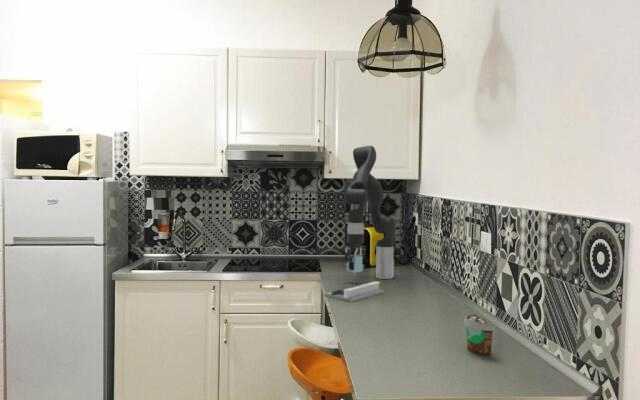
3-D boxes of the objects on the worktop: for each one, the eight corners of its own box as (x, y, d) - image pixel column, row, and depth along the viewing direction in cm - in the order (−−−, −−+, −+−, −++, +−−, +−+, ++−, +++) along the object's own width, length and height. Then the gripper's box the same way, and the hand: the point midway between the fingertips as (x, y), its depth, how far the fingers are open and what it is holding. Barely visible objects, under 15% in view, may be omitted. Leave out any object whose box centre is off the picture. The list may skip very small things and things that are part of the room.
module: (354, 269, 218) (354, 254, 218) (362, 271, 215) (362, 255, 215) (347, 271, 215) (348, 255, 214) (355, 272, 212) (355, 256, 211)
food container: (457, 343, 150) (457, 312, 150) (475, 343, 150) (476, 312, 150) (472, 357, 138) (473, 324, 137) (493, 357, 138) (493, 324, 138)
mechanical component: (363, 284, 237) (364, 264, 237) (344, 283, 239) (344, 263, 239) (364, 283, 240) (364, 263, 239) (344, 282, 242) (345, 263, 242)
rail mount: (356, 287, 230) (357, 278, 229) (384, 292, 219) (384, 282, 219) (324, 296, 212) (324, 285, 211) (352, 302, 201) (352, 291, 201)
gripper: (358, 230, 222) (358, 266, 223) (339, 232, 211) (338, 270, 212) (371, 232, 217) (370, 268, 218) (352, 234, 206) (351, 272, 207)
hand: (355, 269), depth 215 cm, fingers closed on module, 5 cm apart
